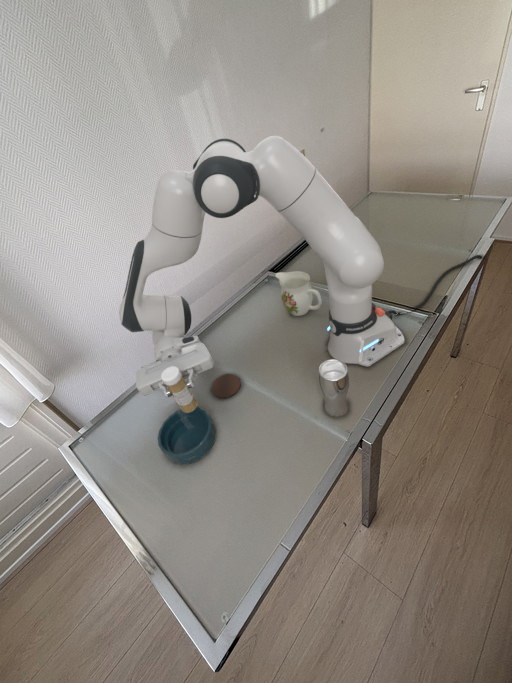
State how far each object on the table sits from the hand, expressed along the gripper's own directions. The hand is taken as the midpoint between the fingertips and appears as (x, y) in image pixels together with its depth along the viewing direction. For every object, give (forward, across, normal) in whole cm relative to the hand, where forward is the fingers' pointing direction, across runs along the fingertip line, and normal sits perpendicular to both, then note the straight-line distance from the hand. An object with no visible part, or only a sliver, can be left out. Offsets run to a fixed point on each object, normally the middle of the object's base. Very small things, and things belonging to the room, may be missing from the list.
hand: (179, 390), depth 78 cm
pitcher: (-30, +45, +17) cm, 57 cm away
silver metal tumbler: (+12, +35, +17) cm, 41 cm away
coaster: (-11, +10, +17) cm, 22 cm away
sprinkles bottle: (-1, 0, +8) cm, 8 cm away
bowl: (+2, -4, +17) cm, 17 cm away
